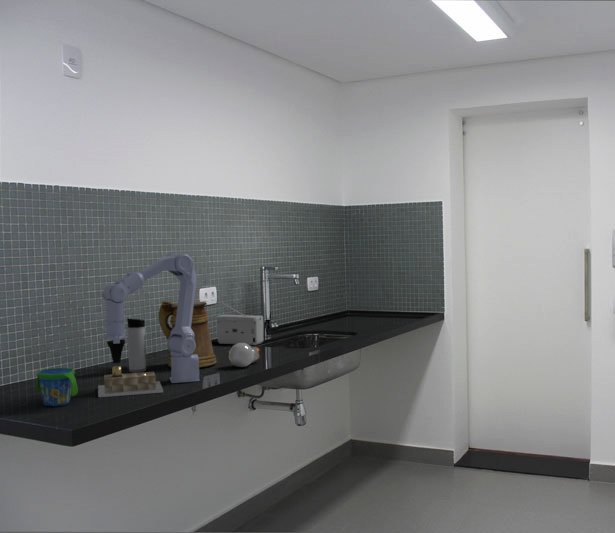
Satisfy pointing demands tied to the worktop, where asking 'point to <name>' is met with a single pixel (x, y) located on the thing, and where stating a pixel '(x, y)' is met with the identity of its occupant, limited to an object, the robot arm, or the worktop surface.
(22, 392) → the worktop surface
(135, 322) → the travel mug
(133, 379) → the housing
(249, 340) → the stereo radio cassette player
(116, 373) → the pin
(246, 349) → the potion bottle
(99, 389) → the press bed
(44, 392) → the snack cup
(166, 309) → the tankard
